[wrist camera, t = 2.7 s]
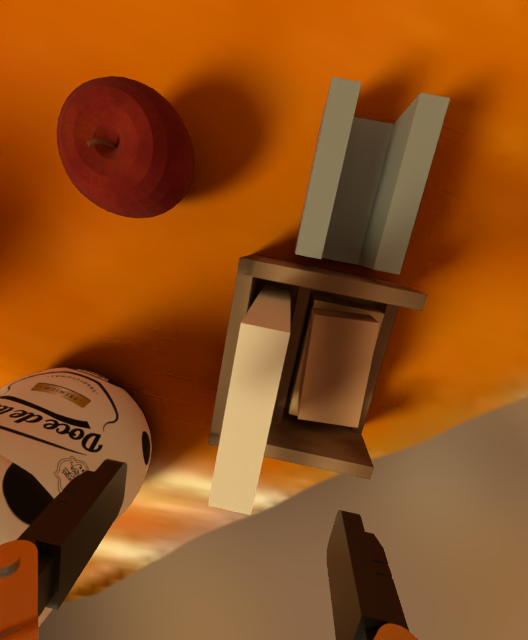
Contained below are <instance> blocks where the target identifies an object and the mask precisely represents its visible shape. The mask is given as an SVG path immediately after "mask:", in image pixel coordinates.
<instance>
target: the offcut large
mask: <svg viewBox="0 0 528 640" xmlns="http://www.w3.org/2000/svg"><path fill="white" fill-rule="evenodd" d="M312 307H313V308H321V309H328V310H336V311H344V312H351V313H359V314H366V315H371V316H372V317H373V318H374V319H375V320H376V321H378V322H379V328H378V333H377V338H378V335H379V331H380V328H381V324H382V321H383V317H384V313H383V312H381V311H380V310H379V309H377V308H376V307H375V306H370V305H365V304H360V303H355V302H350V301H345V300H340V299H335V298H330V297H325V296H320V295H315V294H312V298H311V302H310V307H309V311H308V315H307V320H306V324H305V329H304V333H303V337H302V342H301V346H300V351H299V355H298V359H297V364H296V368H295V373H294V377H293V381H292V386H291V390H290V395H289V414H291V415H296V416H298V409H297V401H298V394H299V388H300V381H301V375H302V368H303V362H304V355H305V349H306V343H307V336H308V330H309V323H310V317H311V310H312ZM377 338H376V342H377ZM376 342H375V345H376ZM374 349H375V347H374ZM348 427H349V426H348Z"/></svg>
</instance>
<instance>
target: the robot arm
mask: <svg viewBox="0 0 528 640" xmlns="http://www.w3.org/2000/svg"><path fill="white" fill-rule="evenodd" d="M126 476H127V463H125V462H120V461H116V460H111V459H106V460H104V461H103V463H102V464H101V465H100V466H99V467H98V468H97V470H96V471H95V472H93V471H89V470H87V471H85V472H83V473H82V474H80V475H78V476H76V477H75V478H73V479H72V480H71V481H70V482H69V483H68V484H67V485H66V487H65V488H64V489H63V490H62V492H60V493H59V494H58V495H57V496H56V497H55V499H54V500H53V502H51V503H50V504H49V505H48V506H47V507H46V508H45V509H44V510H43V512H42V513H41V514H40V515H39V516H38V517H37V518H36V519H35V520H34V521H33V522H32V524H31V525H30V526H29V527H28V528H27V529H26V530H25V531H24V532H23V533H22V534H21V535H20V537H19V538H18V539H17V540H14V541H10V542H7V543H4V544H1V545H0V640H38V618H39V616H40V615H41V613H42V612H43V610H44V609H45V607H47V608H51V609H56V610H58V609H59V607H60V606H61V604H62V603H63V601H64V599H65V598H66V596H67V595H68V593H69V591H70V590H71V588H72V587H73V585H74V584H75V582H76V580H77V579H78V577H79V576H80V574H81V572H82V571H83V569H84V568H85V566H86V565H87V563H88V561H89V560H90V558H91V557H92V555H93V553H94V552H95V550H96V549H97V547H98V546H99V544H100V542H101V541H102V539H103V538H104V536H105V534H106V533H107V531H108V530H109V528H110V527H111V525H112V523H113V522H114V520H115V519H116V517H117V515H118V513H119V511H120V509H121V507H122V504H123V500H124V494H125V485H126ZM327 567H328V576H329V584H330V593H331V601H332V609H333V618H334V626H335V635H336V640H418V639H417V638H416V637H415V636H414V635H413V634H411V632H409V629H408V627H407V623H406V620H405V617H404V613H403V611H402V607H401V604H400V600H399V597H398V594H397V591H396V588H395V584H394V581H393V579H392V575H391V571H390V569H389V566H388V562H387V559H386V555H385V552H384V549H383V547H382V545H381V544H380V543H379V541H378V540H377V538H376V537H375V535H374V534H371V533H367V532H365V530H364V527H363V523H362V519H361V516H360V515H359V514H355V513H350V512H346V511H341V510H339V511H338V513H337V515H336V518H335V522H334V525H333V529H332V532H331V536H330V539H329V543H328V548H327Z"/></svg>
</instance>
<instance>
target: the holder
mask: <svg viewBox="0 0 528 640" xmlns="http://www.w3.org/2000/svg"><path fill="white" fill-rule="evenodd" d="M360 87H361V82H358V81H352V80H346V79H341V78H335V77H332V80H331V84H330V88H329V92H328V96H327V100H326V104H325V108H324V112H323V116H322V121H321V126H320V130H319V135H318V140H317V145H316V150H315V154H314V159H313V164H312V169H311V174H310V179H309V183H308V188H307V193H306V198H305V203H304V207H303V212H302V217H301V222H300V227H299V231H298V236H297V241H296V246H295V251H294V253H295V254H296V255H301V256H306V257H312V258H317V259H321V258H326V259H331V260H336V261H341V262H346V263H351V264H356V265H360V266H363V267H366V268H370V269H373V270H378V271H383V272H388V273H393V274H398V275H400V271H401V268H402V265H403V261H404V258H405V254H406V251H407V247H408V244H409V240H410V237H411V233H412V230H413V226H414V223H415V219H416V216H417V212H418V209H419V205H420V202H421V198H422V195H423V191H424V188H425V184H426V181H427V177H428V174H429V170H430V167H431V163H432V160H433V156H434V153H435V149H436V146H437V142H438V139H439V135H440V132H441V128H442V125H443V121H444V118H445V114H446V111H447V107H448V104H449V100H450V98H447V97H441V96H436V95H430V94H425V93H420V94H419V95H418V96H417V97H416V98H415V100H414V101H413V102H412V103H411V104H410V105H409V107H408V108H407V109H406V110H405V111H404V112H403V114H402V115H401V116H400V117H399V118H398V119H397V121H396V122H395V123H394V124H391V123H386V122H380V121H375V120H369V119H364V118H358V117H354V113H355V109H356V104H357V100H358V95H359V91H360Z"/></svg>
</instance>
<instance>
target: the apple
mask: <svg viewBox="0 0 528 640" xmlns="http://www.w3.org/2000/svg"><path fill="white" fill-rule="evenodd" d="M57 144H58V149H59V154H60V157H61V160H62V163H63V166H64V168H65V171H66V173H67V175H68V176H69V178H70V180H71V181H72V183H73V184H74V185H75V187H76V188H77V189H78V190H79V191H80V192H81V193H82V194H83V195H84V196H85V197H87V198H88V199H89V200H90V201H92V202H93V203H94V204H96V205H97V206H99V207H101V208H103V209H105V210H106V211H108V212H111V213H114V214H117V215H120V216H125V217H132V218H148V217H154V216H157V215H160V214H163V213H165V212H167V211H168V210H170V209H172V208H173V207H174V206H175V205H176V204H177V203H179V202H180V201H181V200H182V198H183V197H184V195H185V194H186V193H187V191H188V189H189V186H190V184H191V182H192V177H193V172H194V155H193V149H192V144H191V141H190V138H189V135H188V132H187V130H186V128H185V126H184V124H183V122H182V120H181V118H180V116H179V114H178V113H177V112H176V111H175V109H174V108H173V107H172V105H171V104H170V103H169V102H168V101H167V100H166V99H165V98H164V97H163V96H161V95H160V94H159V93H158V92H157V91H155V90H154V89H152V88H150V87H148V86H147V85H145V84H143V83H140V82H138V81H135V80H131V79H128V78H125V77H114V76H110V77H103V78H97V79H93V80H90V81H88V82H85V83H83V84H82V85H80V86H79V87H77V88H76V89H75V90H74V91H73V92H72V93H71V94H70V95H69V96H68V97H67V99H66V101H65V103H64V105H63V106H62V109H61V112H60V115H59V118H58V125H57Z"/></svg>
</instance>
